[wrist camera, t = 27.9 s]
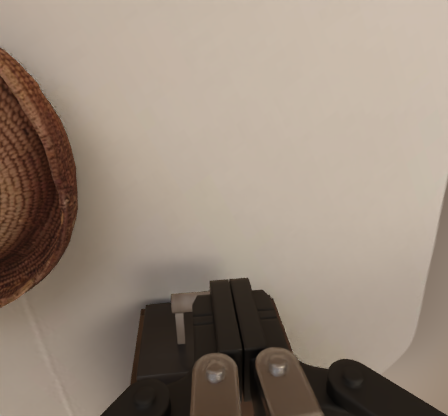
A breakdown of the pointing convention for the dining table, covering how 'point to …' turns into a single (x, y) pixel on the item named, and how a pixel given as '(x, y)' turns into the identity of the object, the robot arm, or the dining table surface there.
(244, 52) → the dining table surface
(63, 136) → the basket
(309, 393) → the robot arm
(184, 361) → the drawer
